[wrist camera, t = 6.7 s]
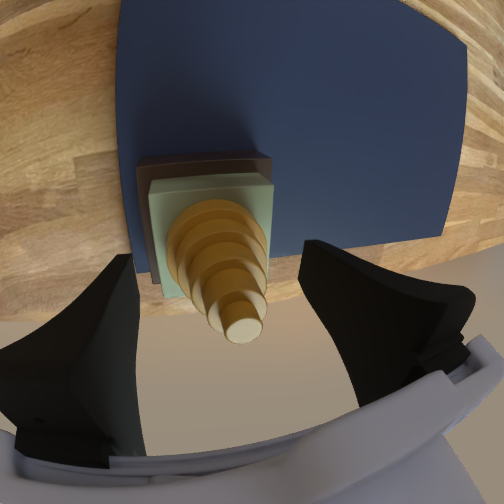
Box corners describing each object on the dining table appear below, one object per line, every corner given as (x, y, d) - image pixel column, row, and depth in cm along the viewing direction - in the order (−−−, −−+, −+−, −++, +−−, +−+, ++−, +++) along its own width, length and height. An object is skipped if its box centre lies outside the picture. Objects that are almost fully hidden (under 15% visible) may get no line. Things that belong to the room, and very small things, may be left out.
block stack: (153, 262, 18) (152, 311, 14) (140, 157, 14) (128, 178, 10) (254, 250, 20) (279, 294, 15) (258, 150, 16) (291, 168, 12)
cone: (214, 297, 14) (240, 386, 10) (146, 249, 12) (140, 342, 7) (277, 239, 14) (334, 315, 9) (214, 178, 11) (250, 237, 7)
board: (137, 266, 19) (136, 273, 18) (131, -39, 8) (130, -46, 7) (435, 232, 26) (441, 236, 25) (459, 45, 15) (466, 45, 14)
